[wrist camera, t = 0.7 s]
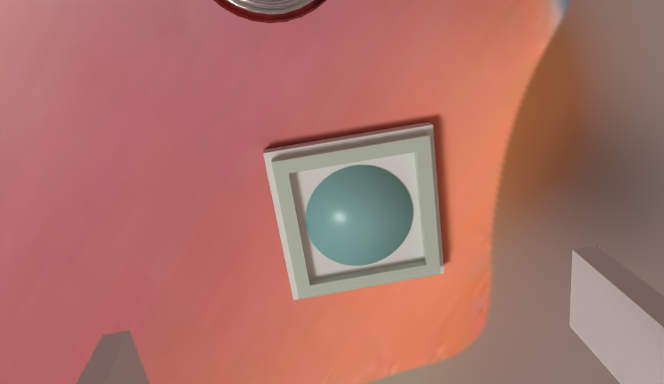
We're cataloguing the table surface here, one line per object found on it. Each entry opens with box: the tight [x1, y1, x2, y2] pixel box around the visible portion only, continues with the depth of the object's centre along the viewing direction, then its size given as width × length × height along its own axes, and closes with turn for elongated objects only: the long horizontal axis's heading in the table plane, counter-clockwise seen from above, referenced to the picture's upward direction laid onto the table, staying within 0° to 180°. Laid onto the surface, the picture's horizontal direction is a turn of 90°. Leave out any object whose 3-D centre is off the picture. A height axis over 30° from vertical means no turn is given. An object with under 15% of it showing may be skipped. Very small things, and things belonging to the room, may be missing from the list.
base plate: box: [263, 122, 444, 300], centre depth 36 cm, size 12×12×2 cm
